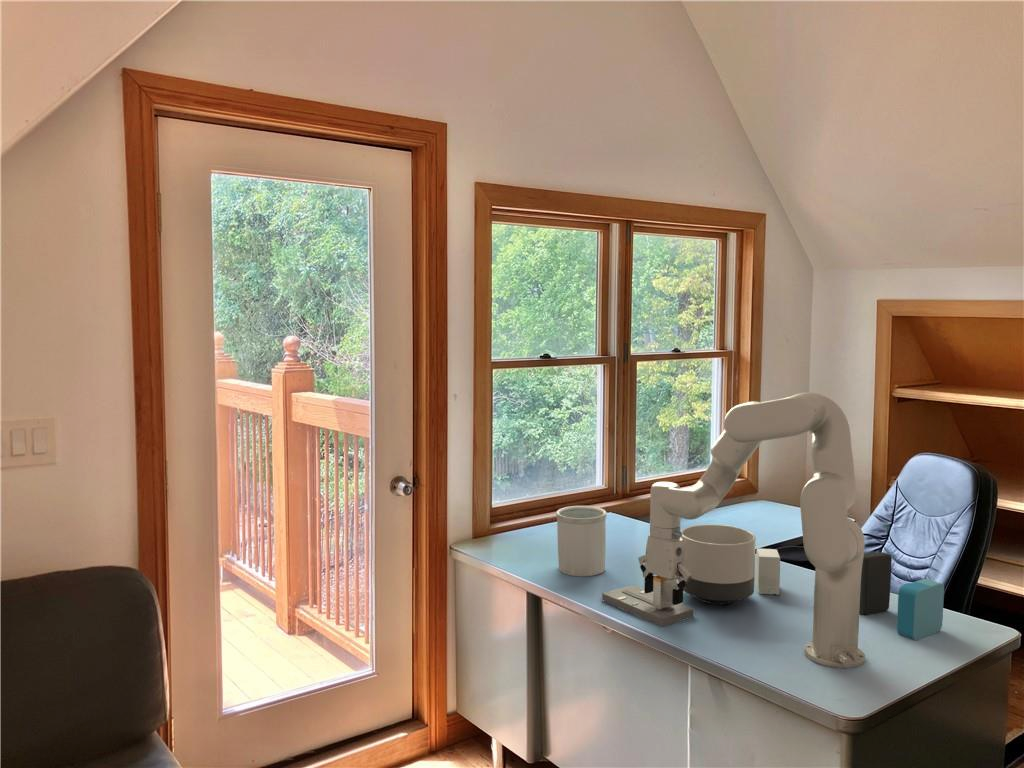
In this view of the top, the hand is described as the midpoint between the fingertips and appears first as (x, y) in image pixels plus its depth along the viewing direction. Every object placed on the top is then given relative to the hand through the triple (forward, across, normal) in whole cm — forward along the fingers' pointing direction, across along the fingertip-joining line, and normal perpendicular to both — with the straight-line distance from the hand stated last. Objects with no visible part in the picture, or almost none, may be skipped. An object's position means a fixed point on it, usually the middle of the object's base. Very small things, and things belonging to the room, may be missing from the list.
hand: (663, 597), depth 211 cm
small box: (+5, -4, -37) cm, 37 cm away
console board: (+5, +6, 0) cm, 7 cm away
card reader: (+5, -29, -45) cm, 54 cm away
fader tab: (+2, 0, 0) cm, 2 cm away
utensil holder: (+5, +40, -6) cm, 41 cm away
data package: (+4, -44, -42) cm, 61 cm away
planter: (+5, 0, -20) cm, 21 cm away
